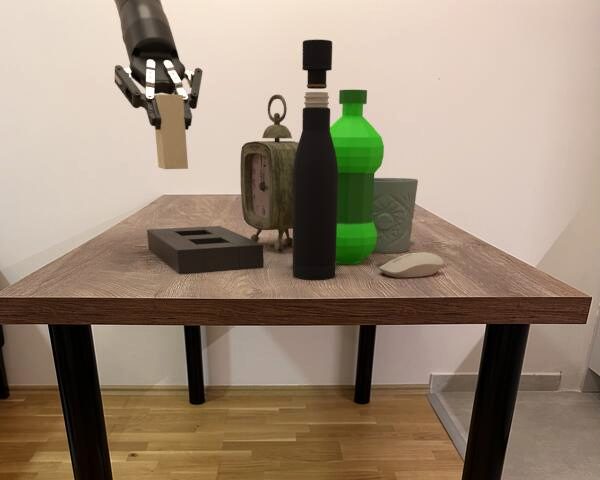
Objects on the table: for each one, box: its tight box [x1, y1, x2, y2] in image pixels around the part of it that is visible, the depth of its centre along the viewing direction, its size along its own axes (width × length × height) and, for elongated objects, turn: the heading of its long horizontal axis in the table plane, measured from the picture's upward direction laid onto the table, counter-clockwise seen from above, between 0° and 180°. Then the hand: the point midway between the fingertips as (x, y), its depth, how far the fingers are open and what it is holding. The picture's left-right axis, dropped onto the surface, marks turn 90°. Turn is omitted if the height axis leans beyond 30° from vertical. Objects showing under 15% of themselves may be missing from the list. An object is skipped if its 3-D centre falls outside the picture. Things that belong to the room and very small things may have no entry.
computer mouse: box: [379, 252, 444, 279], centre depth 96 cm, size 6×10×3 cm, turn 111°
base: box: [146, 225, 265, 275], centre depth 107 cm, size 14×23×4 cm, turn 23°
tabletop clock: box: [239, 94, 299, 253], centre depth 113 cm, size 14×9×25 cm, turn 27°
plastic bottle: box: [330, 89, 385, 265], centre depth 100 cm, size 10×10×25 cm
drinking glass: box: [372, 177, 419, 254], centre depth 114 cm, size 10×10×12 cm
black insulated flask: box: [292, 39, 338, 281], centre depth 89 cm, size 6×6×30 cm
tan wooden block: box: [154, 93, 189, 170], centre depth 96 cm, size 4×5×10 cm
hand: (172, 125), depth 94 cm, fingers closed on tan wooden block, 3 cm apart
